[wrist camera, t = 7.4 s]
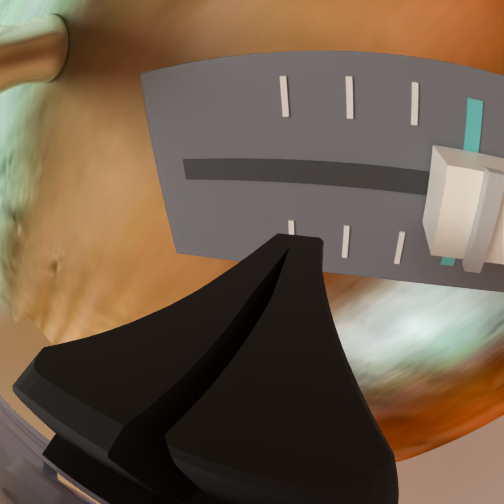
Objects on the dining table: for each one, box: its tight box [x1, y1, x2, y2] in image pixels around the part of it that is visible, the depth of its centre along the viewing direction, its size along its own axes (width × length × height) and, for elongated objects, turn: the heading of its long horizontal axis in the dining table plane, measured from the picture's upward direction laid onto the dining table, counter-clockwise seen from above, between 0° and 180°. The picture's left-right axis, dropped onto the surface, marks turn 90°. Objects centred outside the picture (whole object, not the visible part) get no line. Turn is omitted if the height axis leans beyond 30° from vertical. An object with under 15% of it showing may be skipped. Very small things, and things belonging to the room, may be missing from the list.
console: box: [140, 51, 504, 292], centre depth 15 cm, size 12×22×2 cm, turn 96°
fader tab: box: [422, 145, 504, 273], centre depth 11 cm, size 4×4×4 cm
